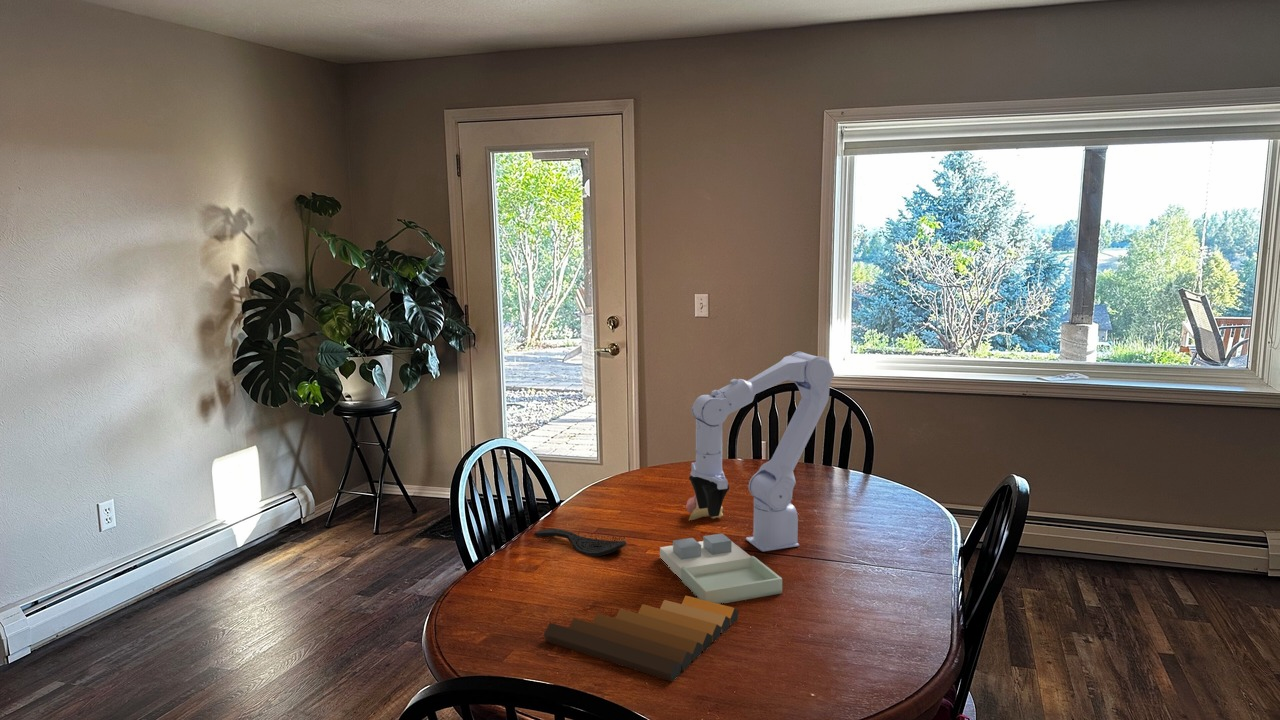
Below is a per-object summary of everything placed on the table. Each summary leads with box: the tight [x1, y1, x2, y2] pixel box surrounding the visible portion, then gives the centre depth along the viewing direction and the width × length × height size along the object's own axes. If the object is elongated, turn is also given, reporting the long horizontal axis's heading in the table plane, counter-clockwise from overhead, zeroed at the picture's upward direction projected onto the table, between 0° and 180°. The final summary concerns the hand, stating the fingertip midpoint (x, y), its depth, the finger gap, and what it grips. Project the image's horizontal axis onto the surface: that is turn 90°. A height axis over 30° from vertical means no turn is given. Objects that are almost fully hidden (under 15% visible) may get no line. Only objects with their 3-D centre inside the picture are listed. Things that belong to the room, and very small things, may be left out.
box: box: [680, 555, 783, 605], centre depth 158 cm, size 16×12×3 cm
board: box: [659, 540, 752, 580], centre depth 170 cm, size 16×12×2 cm
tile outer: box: [672, 537, 701, 560], centre depth 169 cm, size 4×4×2 cm
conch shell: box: [686, 494, 724, 522], centre depth 197 cm, size 9×10×10 cm
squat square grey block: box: [702, 533, 733, 555], centre depth 171 cm, size 4×4×2 cm
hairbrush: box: [534, 528, 627, 557], centre depth 181 cm, size 8×4×25 cm
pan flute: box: [543, 595, 740, 683], centre depth 141 cm, size 25×3×25 cm
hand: (708, 511), depth 174 cm, fingers open, 5 cm apart
